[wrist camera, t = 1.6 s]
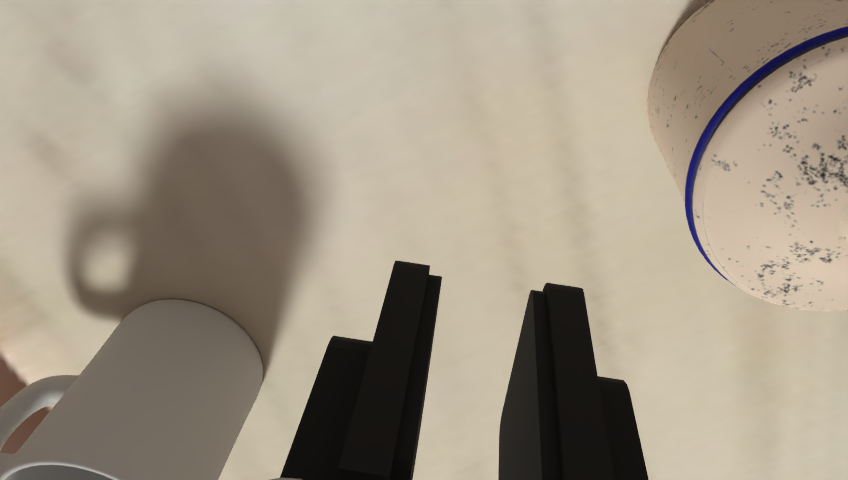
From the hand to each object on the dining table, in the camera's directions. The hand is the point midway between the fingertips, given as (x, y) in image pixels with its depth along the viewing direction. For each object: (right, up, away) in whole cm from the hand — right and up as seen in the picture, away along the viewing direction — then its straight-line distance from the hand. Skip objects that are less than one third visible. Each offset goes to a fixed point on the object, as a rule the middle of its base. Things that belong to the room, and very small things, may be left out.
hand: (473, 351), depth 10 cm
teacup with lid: (+14, +8, +16) cm, 23 cm away
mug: (-16, -5, +28) cm, 32 cm away
